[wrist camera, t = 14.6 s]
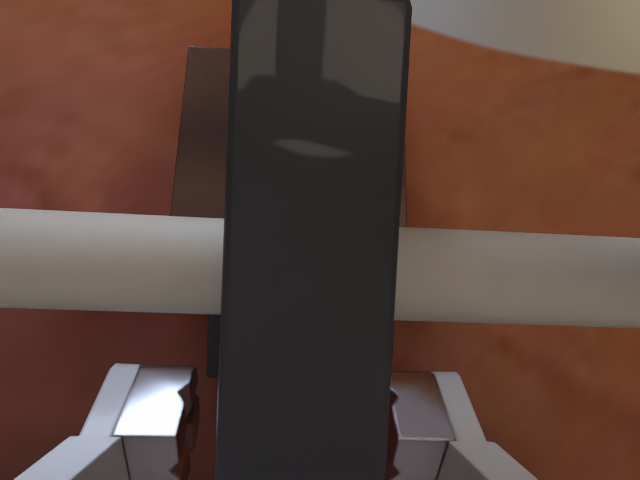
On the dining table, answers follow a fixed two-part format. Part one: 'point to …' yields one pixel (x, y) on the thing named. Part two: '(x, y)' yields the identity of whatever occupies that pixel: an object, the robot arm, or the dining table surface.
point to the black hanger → (310, 238)
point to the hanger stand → (207, 249)
